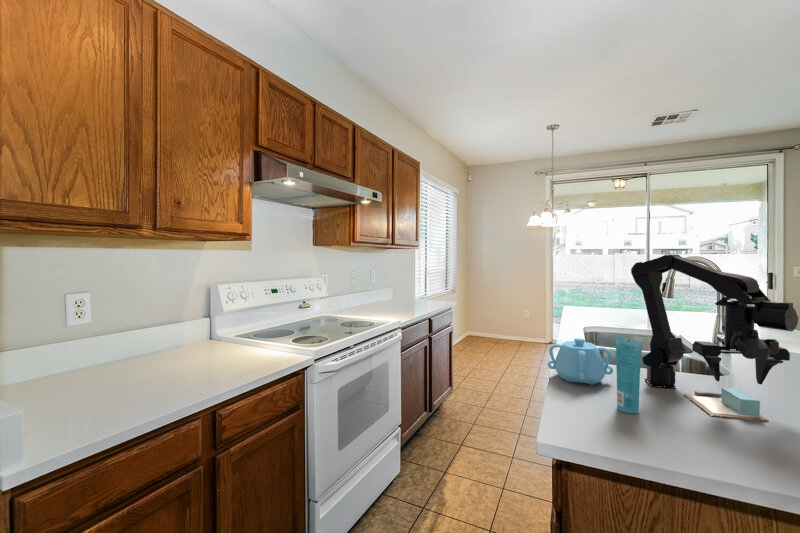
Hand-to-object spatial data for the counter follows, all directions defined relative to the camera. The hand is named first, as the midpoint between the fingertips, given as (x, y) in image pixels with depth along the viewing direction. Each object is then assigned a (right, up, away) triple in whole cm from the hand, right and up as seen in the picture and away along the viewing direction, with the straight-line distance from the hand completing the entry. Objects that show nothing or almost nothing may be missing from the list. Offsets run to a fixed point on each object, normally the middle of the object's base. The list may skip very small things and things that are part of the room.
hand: (738, 382), depth 97 cm
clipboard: (-3, -7, +2) cm, 8 cm away
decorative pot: (-30, -7, +25) cm, 40 cm away
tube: (-29, -8, 0) cm, 30 cm away
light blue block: (0, -7, 0) cm, 7 cm away
